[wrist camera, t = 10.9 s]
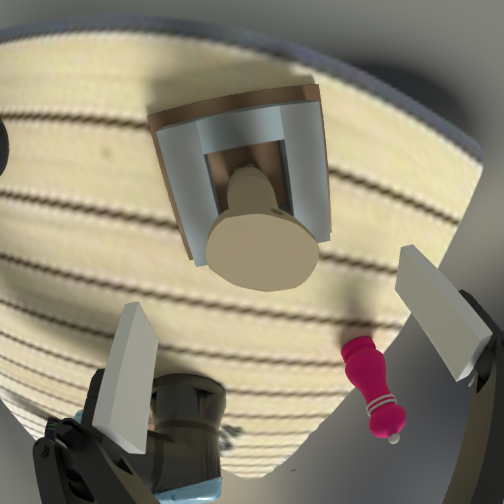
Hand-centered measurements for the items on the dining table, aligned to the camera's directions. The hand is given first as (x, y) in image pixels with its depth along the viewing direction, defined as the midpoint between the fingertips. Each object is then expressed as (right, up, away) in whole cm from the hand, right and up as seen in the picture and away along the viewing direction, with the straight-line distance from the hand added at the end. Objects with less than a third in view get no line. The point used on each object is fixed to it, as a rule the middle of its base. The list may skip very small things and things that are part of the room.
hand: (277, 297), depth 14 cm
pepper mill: (+18, -15, +34) cm, 42 cm away
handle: (-2, +10, +16) cm, 19 cm away
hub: (-2, +10, +16) cm, 19 cm away
